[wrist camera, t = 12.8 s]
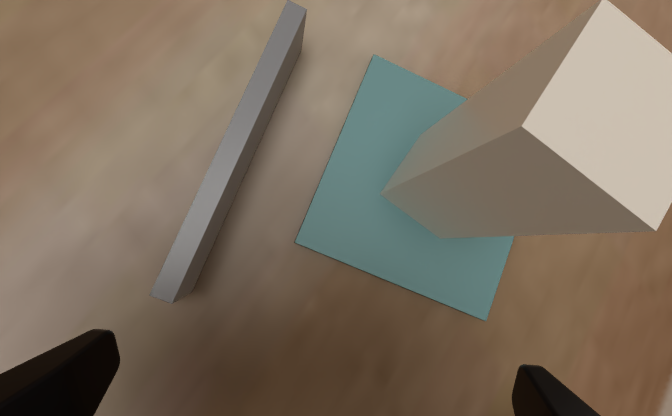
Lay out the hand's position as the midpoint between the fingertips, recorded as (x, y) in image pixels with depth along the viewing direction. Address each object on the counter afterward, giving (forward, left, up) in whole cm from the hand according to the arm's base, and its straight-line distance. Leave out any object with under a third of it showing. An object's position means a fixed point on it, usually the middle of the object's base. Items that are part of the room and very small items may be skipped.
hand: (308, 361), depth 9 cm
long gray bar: (+6, +5, -13) cm, 15 cm away
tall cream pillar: (+9, -5, -13) cm, 16 cm away
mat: (+9, -5, -13) cm, 16 cm away
